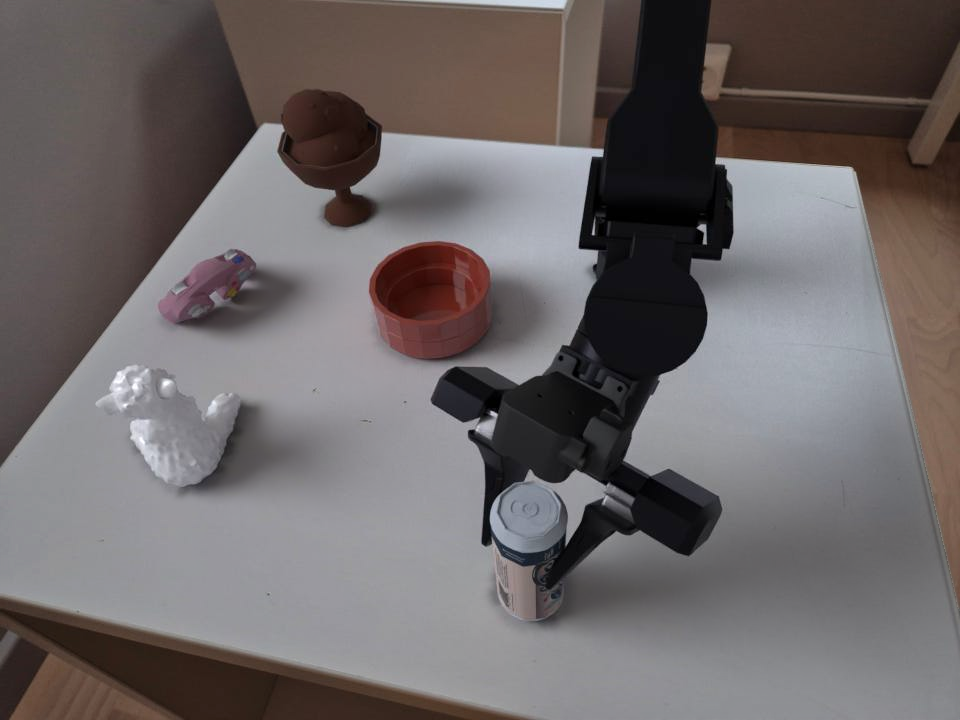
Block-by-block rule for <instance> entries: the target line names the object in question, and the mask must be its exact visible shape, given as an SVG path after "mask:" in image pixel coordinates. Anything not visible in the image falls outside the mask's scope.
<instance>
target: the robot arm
mask: <svg viewBox="0 0 960 720" xmlns="http://www.w3.org/2000/svg"><path fill="white" fill-rule="evenodd" d="M639 8H640V9H639V18H638V27H637V34H636V35H637V36H636V44H635V53H634V62H633V71H632V78H631V81H632V82H631V86H630V87H631V88H630V89H629V91H628V92H627V93H626V95H625V96H624V97H623V99H622V100H621V101H620V102H619V104H618V106H616V108H615V110H613V112H612V113H611V115H610V116H609V117H608V120H607V121H606V128H605V135H604V143H603V151H602V156H596V155H595V156H591V159H590V164H589V170H588V171H589V173H588V179H587V183H586V191H585V197H584V204H583V211H582V218H581V224H580V230H579V238H578V246H577V247H578V250H581V251H582V250H583V251H594V252H597V259H596V263H594V264H593V265H592V272H593V273H594V275H595V279H596V281H595V282H594V283H593V284H592V286H591V289H590V290H589V293H588V294H587V297H586V300H585V304H584V310H583V315H582V317H581V320H580V322H579V324H578V326H577V329H576V330H575V333H574V335H573V337H572V339H571V340H570V343H569V345H568V344H567V345H566V344H561V346H560V349H559V350H558V352H557V353H556V354H555V355H554V358H553V361H552V362H551V364H550V365H549V366H548V368H547V369H545V371H544V372H543V373H542V374H541V375H534V376H533V377H530V378H529V379H528V380H525V381H524V382H522V383H520V384H519V383H517V382H515V381H512V380H511V379H509V378H507V377H506V376H504V375H502V374H500V373H498V372H497V371H495V370H493V369H491V368H490V367H488V366H463V365H462V366H461V365H459V366H458V365H457V366H456V365H455V366H452V367H451V368H448V369H447V370H446V371H445V372H444V373H443V374H442V375H441V376H440V377H439V378H438V381H437V383H436V385H435V388H434V390H433V392H432V394H431V397H430V399H429V400H430V403H431V405H433V406H434V407H436V408H438V409H440V410H441V411H443V412H445V413H446V414H448V415H449V416H451V417H453V418H454V419H456V420H458V421H459V422H461V423H462V424H463V423H469V422H472V421H475V420H478V421H477V423H476V425H475V428H473V429H468V430H467V438H468V440H469V441H470V442H472V443H473V444H475V446H476V447H477V449H478V451H479V454H480V456H481V458H482V461H483V466H484V498H483V499H484V500H483V511H482V525H481V526H482V527H481V539H480V543H481V545H482V546H484V547H485V548H487V547H490V546H493V545H492V535H491V526H490V512H491V508H492V505H493V503H494V501H495V499H496V498H497V497H498V496H499V495H500V494H501V493H502V492H503V491H504V490H506V489H507V488H509V487H510V486H511V485H512V484H514V483H518V482H526V478H527V477H528V474H529V472H530V471H531V472H532V474H533V476H534V477H536V478H538V479H539V480H541V481H543V482H545V483H549V484H561V483H563V482H565V481H566V480H568V479H569V478H570V476H571V475H572V473H574V471H577V472H579V473H581V474H584V475H586V476H588V477H589V478H592V480H595V481H596V482H598V483H599V484H602V485H603V486H605V489H604V490H603V494H604V497H602V498H599V499H597V500H594V501H591V502H590V503H587V504H585V506H584V509H583V513H582V515H581V520H580V522H579V524H578V525H577V527H576V529H575V530H574V532H573V534H572V536H570V538H569V541H568V542H567V543H566V547H565V549H564V550H563V552H562V553H561V555H560V557H559V558H558V560H557V561H556V563H555V565H554V566H553V568H552V570H551V572H550V575H549V577H548V579H547V582H546V584H545V588H546V589H547V590H549V591H550V590H551V589H553V588H555V587H556V586H557V585H558V584H559V583H560V582H561V581H562V580H563V579H564V580H565V578H567V577H568V576H569V575H570V574H571V573H572V572H573V571H574V570H575V569H576V568H577V567H578V566H579V565H580V564H581V563H582V562H583V561H584V560H586V559H587V558H588V557H589V555H591V554H592V553H593V552H594V551H595V550H596V549H597V548H599V546H600V545H601V544H602V543H604V542H605V541H606V540H607V539H608V538H610V537H611V536H613V535H614V534H615V533H619V534H621V535H624V536H628V537H629V536H633V535H634V534H636V533H638V532H639V531H640V532H641V533H643V534H645V535H647V536H648V537H650V538H651V539H653V540H654V541H656V542H658V543H659V544H661V545H663V546H664V547H666V548H668V549H669V550H671V551H673V552H675V553H676V554H678V555H682V556H686V557H689V558H690V556H692V555H693V554H694V553H695V552H696V551H697V550H698V549H699V548H700V547H702V545H703V544H705V543H706V542H707V541H708V540H709V538H710V537H711V535H712V533H713V531H714V529H715V527H716V526H717V524H718V522H719V520H720V518H721V516H722V513H723V506H722V501H721V497H720V495H718V494H716V493H714V492H712V491H711V490H708V489H707V488H705V487H703V486H702V485H700V484H698V483H697V482H694V481H692V480H691V479H689V478H687V477H686V476H684V475H682V474H681V473H678V472H676V471H675V470H673V469H671V468H667V469H664V470H662V471H659V472H657V473H655V474H653V475H650V474H649V473H647V472H645V471H643V470H642V469H640V468H638V467H636V466H635V465H632V464H631V463H629V462H627V461H625V458H626V456H627V453H628V450H629V448H630V445H631V443H632V440H633V431H634V430H635V428H636V425H637V423H638V421H639V419H640V418H641V415H642V413H643V411H644V409H645V407H646V405H647V403H648V401H649V399H650V397H651V396H654V394H655V392H656V391H657V388H658V385H659V384H660V382H661V381H660V380H659V378H660V377H661V375H663V374H664V375H665V374H666V373H669V372H673V371H674V370H676V369H678V368H679V367H681V366H682V365H684V364H685V363H687V361H688V360H689V359H691V357H692V356H694V354H695V353H696V352H697V350H698V348H699V347H700V345H701V343H702V342H703V340H704V337H705V334H706V330H707V327H708V318H709V317H708V316H709V313H708V307H707V302H706V298H705V295H704V292H703V291H702V289H701V286H700V284H699V283H698V281H697V280H696V279H695V277H694V276H693V275H692V274H691V267H692V261H693V260H700V261H701V260H703V261H713V262H721V261H722V257H723V251H724V250H730V249H731V245H732V241H733V237H734V233H735V231H734V228H735V227H734V191H733V187H734V186H733V185H732V183H731V182H730V181H729V179H728V177H727V176H728V169H727V168H726V164H721V163H716V162H717V153H718V152H717V151H718V142H719V141H718V140H719V130H720V128H719V127H720V126H719V124H718V122H717V119H716V118H715V116H714V114H713V112H712V110H711V108H710V107H709V103H708V102H707V100H706V99H705V96H704V94H703V92H702V89H703V80H704V79H703V77H704V69H705V61H706V53H707V43H708V35H709V25H710V17H711V8H712V0H641V1H640V7H639ZM701 225H705V232H704V231H703V230H701V229H700V228H698V227H700V226H701ZM593 231H594V234H593ZM705 233H706V234H705ZM705 235H706V236H705ZM705 237H706V243H704V238H705Z"/></svg>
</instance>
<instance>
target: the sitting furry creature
mask: <svg viewBox="0 0 960 720" xmlns="http://www.w3.org/2000/svg"><path fill="white" fill-rule="evenodd" d="M175 379H176V375H175V374H173V373H171V374H169V373H168V370H166V369H162V368H160V367H156V368H153V369H152V368H150V367H148V365H147V364H141V365H140V364H139V363H135V364H132V365H127V366H126V367H125V368H124V369H121V370H118V371H117V372H116V375H115V377H114V379H113V380H112V382H111V383H110V386H109V391H110V393H108V394H106V395H104V396H102V397H100V398H99V399H98V400H97V401H96V402H95V406H97V407H98V408H99V409H100V410H101V411H103V413H105V414H106V415H107V416H114V415H116V414H119V413H120V415H121V417H122V419H123V420H125V419H128V418H129V419H130V418H134V419H135V420H131V422H130V425H129V426H130V427H129V428H130V433H131V435H130V437H129V438H130V440H131V441H132V442H133V443H134V444H135V447H136V448H137V450H139V451H140V453H141V454H142V456H143V457H144V458H143V459H144V460H145V462H146V463H147V465H148V466H149V467H150V468H151V470H150V471H151V472H153V473H154V474H155V477H157V478H159V479H162V480H163V481H164V483H166V484H167V485H173V486H177V487H180V488H184V487H186V486H189V485H197V484H199V483H202V481H203V480H204V479H205V478H207V477H208V476H211V475H212V473H214V471H215V470H216V469H217V468H218V465H219V462H220V461H221V459H222V455H224V453H225V447H227V441H228V438H229V436H230V435H231V433H232V432H234V425H236V419H237V417H238V415H239V411H240V409H241V402H242V399H241V396H240V395H239V394H238V393H236V392H230V393H229V394H227V393H226V392H223V393H220V394H218V395H217V396H216V397H215V398H214V399H213V400H212V401H211V403H210V405H209V406H208V407H207V412H206V414H205V417H203V412H202V410H201V409H199V407H198V405H197V403H196V400H197V399H196V397H195V396H193V395H191V396H188V395H186V394H183V393H182V392H180V391H179V390H178V385H177V381H176V380H175Z"/></svg>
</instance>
